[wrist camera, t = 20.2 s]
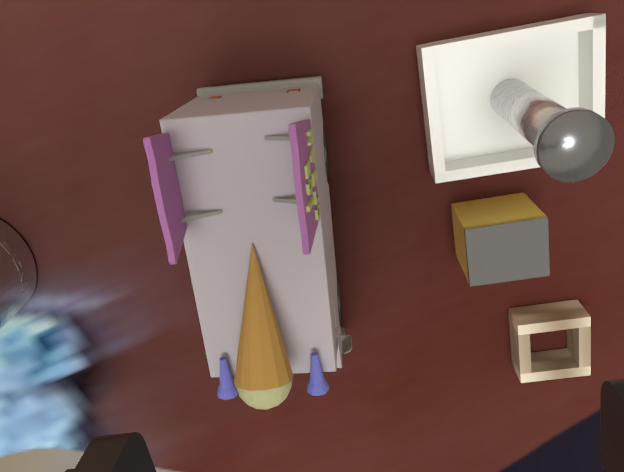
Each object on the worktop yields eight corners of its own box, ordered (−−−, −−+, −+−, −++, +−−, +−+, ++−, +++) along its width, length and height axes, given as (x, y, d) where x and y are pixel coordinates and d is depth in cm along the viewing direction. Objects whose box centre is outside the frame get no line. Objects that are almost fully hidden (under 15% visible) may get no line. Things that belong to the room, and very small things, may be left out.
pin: (483, 128, 37) (539, 187, 27) (481, 75, 35) (538, 118, 25) (537, 118, 36) (613, 175, 27) (536, 65, 35) (616, 105, 25)
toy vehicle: (238, 335, 45) (190, 483, 31) (195, 84, 37) (106, 131, 23) (354, 328, 44) (358, 478, 30) (333, 71, 36) (326, 111, 23)
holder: (511, 363, 44) (520, 383, 42) (508, 308, 42) (517, 325, 40) (577, 355, 43) (590, 375, 41) (577, 299, 42) (590, 316, 39)
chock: (455, 254, 41) (469, 286, 36) (450, 203, 39) (465, 229, 35) (526, 244, 40) (549, 275, 36) (523, 192, 39) (548, 217, 34)
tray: (429, 171, 38) (435, 183, 36) (415, 45, 35) (421, 48, 33) (586, 146, 37) (604, 157, 35) (586, 13, 34) (606, 13, 32)
